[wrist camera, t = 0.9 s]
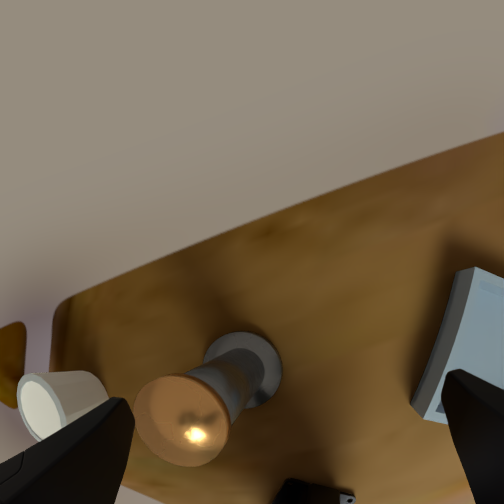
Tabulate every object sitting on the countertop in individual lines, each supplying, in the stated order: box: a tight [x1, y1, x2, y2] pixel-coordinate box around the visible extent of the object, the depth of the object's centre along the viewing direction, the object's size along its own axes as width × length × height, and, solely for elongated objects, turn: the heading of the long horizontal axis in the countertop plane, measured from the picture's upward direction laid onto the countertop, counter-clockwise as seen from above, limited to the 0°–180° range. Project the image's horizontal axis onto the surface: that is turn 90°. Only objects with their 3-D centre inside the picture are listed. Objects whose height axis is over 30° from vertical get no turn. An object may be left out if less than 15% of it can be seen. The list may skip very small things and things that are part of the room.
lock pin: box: [133, 331, 283, 467], centre depth 17 cm, size 6×6×12 cm
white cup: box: [17, 370, 109, 442], centre depth 22 cm, size 7×7×7 cm
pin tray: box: [410, 267, 504, 424], centre depth 18 cm, size 11×11×4 cm
